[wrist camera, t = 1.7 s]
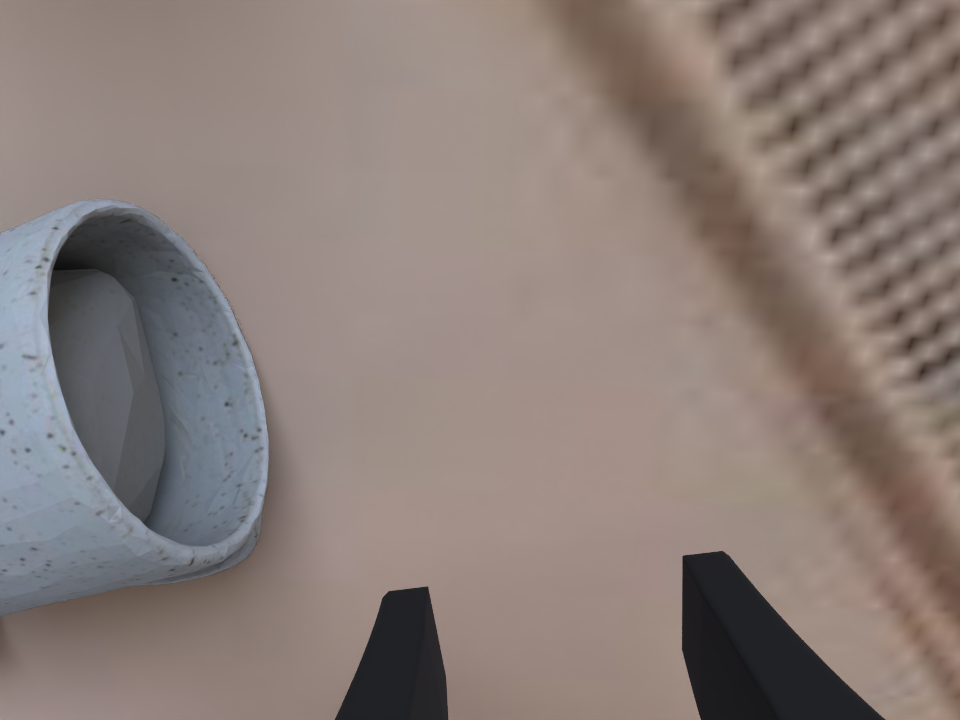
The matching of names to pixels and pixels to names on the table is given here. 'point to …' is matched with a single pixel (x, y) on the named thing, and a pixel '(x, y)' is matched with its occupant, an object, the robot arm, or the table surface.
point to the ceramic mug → (120, 410)
